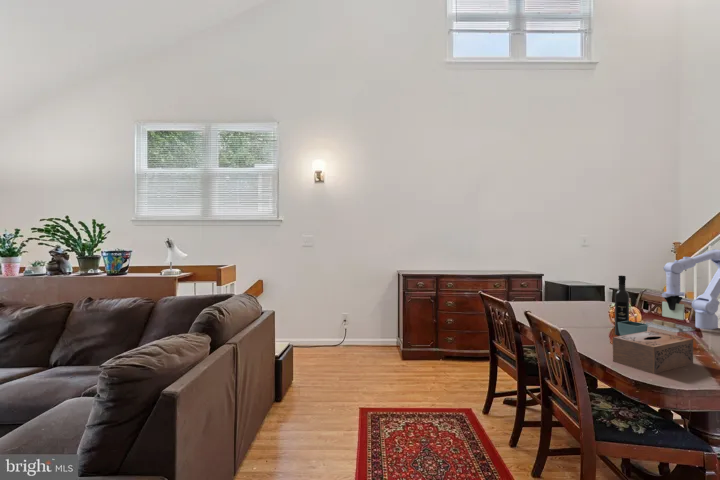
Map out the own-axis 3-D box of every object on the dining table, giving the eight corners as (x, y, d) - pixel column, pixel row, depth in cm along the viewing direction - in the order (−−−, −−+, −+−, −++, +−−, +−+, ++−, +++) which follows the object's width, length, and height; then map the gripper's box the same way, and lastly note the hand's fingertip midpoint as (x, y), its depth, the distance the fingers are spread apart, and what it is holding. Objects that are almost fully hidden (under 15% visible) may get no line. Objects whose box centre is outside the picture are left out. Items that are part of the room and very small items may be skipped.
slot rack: (662, 325, 206) (662, 320, 206) (695, 332, 191) (695, 327, 191) (643, 327, 202) (643, 322, 202) (675, 334, 186) (675, 329, 186)
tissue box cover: (651, 353, 157) (651, 330, 157) (693, 364, 143) (693, 339, 143) (612, 362, 146) (612, 337, 146) (653, 374, 133) (653, 347, 133)
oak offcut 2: (666, 328, 195) (666, 321, 195) (675, 330, 191) (675, 323, 191) (663, 328, 195) (663, 321, 194) (673, 330, 190) (673, 323, 190)
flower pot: (616, 340, 175) (616, 322, 175) (627, 338, 179) (627, 320, 179) (637, 345, 167) (637, 326, 167) (648, 343, 171) (648, 324, 171)
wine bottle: (628, 336, 182) (628, 276, 182) (614, 335, 186) (614, 275, 185) (629, 334, 187) (629, 275, 186) (615, 332, 190) (615, 275, 190)
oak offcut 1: (655, 325, 200) (655, 319, 200) (664, 327, 196) (664, 321, 196) (652, 326, 200) (652, 319, 200) (661, 328, 195) (661, 321, 195)
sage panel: (663, 315, 202) (663, 301, 202) (684, 319, 193) (684, 304, 193) (662, 316, 202) (662, 301, 202) (682, 319, 193) (682, 304, 192)
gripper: (674, 283, 203) (674, 307, 203) (655, 284, 199) (655, 309, 199) (689, 284, 197) (688, 310, 197) (670, 286, 192) (670, 311, 192)
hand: (673, 309), depth 197 cm, fingers closed on sage panel, 1 cm apart
